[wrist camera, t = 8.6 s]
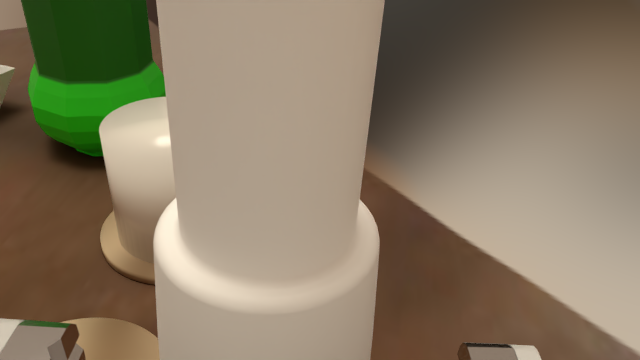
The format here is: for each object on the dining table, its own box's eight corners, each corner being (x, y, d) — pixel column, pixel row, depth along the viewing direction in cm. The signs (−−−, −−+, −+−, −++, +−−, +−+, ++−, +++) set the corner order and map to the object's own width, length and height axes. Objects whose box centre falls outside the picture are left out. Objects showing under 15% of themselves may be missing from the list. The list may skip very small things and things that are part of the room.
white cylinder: (101, 261, 30) (77, 152, 26) (137, 190, 36) (123, 92, 32) (227, 267, 30) (222, 161, 26) (243, 196, 36) (241, 100, 32)
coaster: (78, 281, 29) (76, 272, 29) (128, 188, 37) (127, 181, 36) (243, 289, 29) (243, 281, 29) (259, 195, 37) (259, 188, 37)
